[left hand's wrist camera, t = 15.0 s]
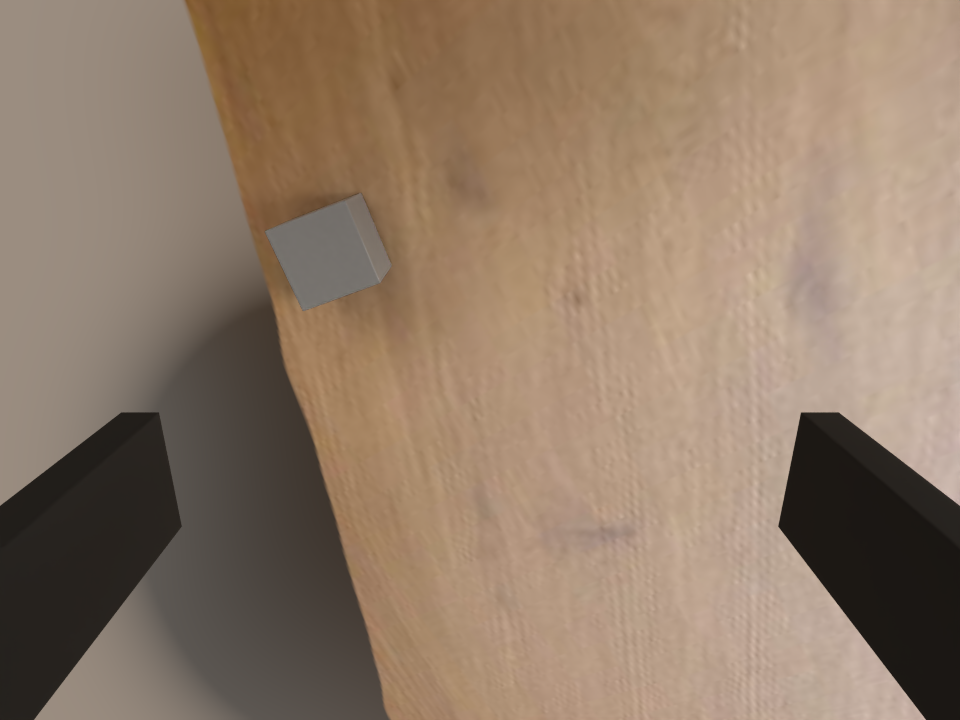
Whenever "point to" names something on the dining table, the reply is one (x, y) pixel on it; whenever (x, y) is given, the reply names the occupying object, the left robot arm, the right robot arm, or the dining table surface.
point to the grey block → (330, 252)
